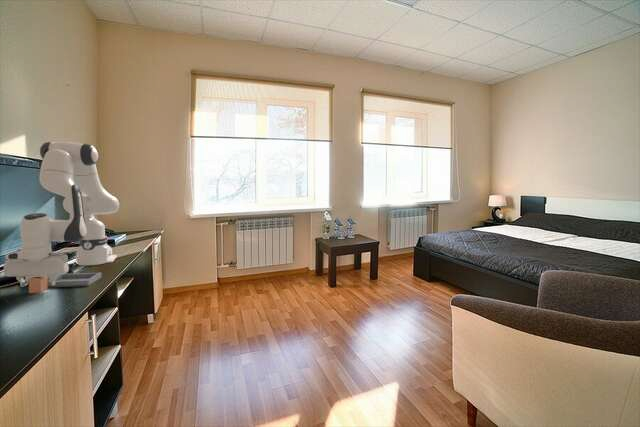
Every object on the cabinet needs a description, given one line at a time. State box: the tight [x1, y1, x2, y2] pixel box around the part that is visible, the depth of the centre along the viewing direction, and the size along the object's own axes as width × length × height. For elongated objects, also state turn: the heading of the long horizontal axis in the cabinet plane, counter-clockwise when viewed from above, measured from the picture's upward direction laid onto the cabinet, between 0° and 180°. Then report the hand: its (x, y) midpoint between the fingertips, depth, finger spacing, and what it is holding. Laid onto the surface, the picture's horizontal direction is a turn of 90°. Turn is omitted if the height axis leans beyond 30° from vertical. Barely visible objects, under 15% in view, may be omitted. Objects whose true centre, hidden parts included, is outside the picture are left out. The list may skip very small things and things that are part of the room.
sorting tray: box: [47, 272, 102, 289], centre depth 130 cm, size 12×16×2 cm
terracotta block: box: [28, 276, 48, 294], centre depth 118 cm, size 4×4×6 cm
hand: (38, 285), depth 118 cm, fingers open, 8 cm apart
